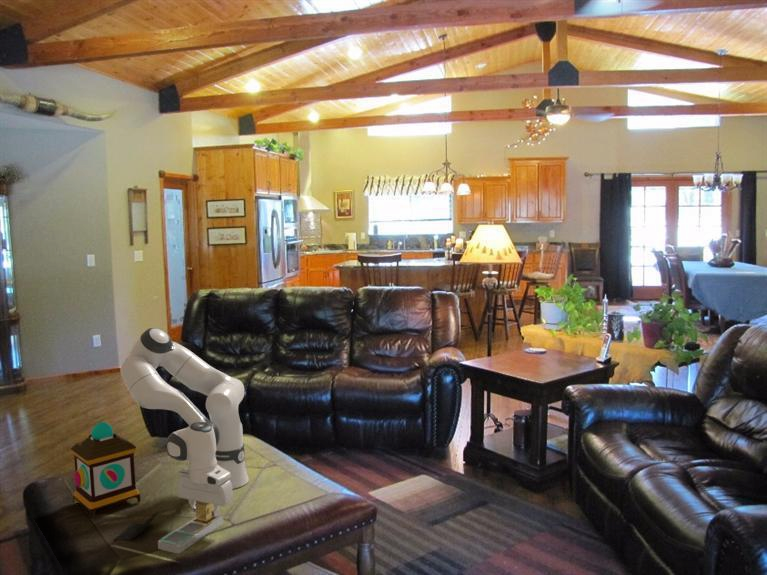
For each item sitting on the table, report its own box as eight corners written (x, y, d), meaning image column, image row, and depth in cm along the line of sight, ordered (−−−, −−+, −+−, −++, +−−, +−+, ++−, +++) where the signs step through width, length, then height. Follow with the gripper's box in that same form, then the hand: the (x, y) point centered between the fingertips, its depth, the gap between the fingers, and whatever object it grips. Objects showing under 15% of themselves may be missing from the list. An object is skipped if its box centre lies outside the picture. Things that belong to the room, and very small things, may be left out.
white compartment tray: (158, 550, 189) (157, 540, 189) (203, 520, 208) (203, 510, 208) (179, 555, 186) (178, 545, 185) (223, 524, 205) (223, 514, 205)
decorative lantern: (124, 487, 236) (119, 410, 233) (146, 503, 222) (141, 421, 219) (67, 504, 222) (61, 422, 219) (88, 522, 208) (81, 435, 205)
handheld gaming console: (126, 521, 205) (142, 499, 203) (145, 532, 206) (161, 511, 204) (111, 543, 194) (127, 521, 192) (130, 555, 195) (147, 533, 193)
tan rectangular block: (196, 527, 202) (195, 503, 201) (205, 521, 206) (203, 498, 205) (206, 529, 200) (205, 505, 199) (215, 523, 204) (214, 500, 203)
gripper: (171, 472, 202) (173, 512, 204) (222, 481, 194) (224, 523, 196) (184, 464, 208) (186, 504, 210) (234, 473, 200) (236, 514, 201)
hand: (205, 513), depth 203 cm, fingers open, 6 cm apart
